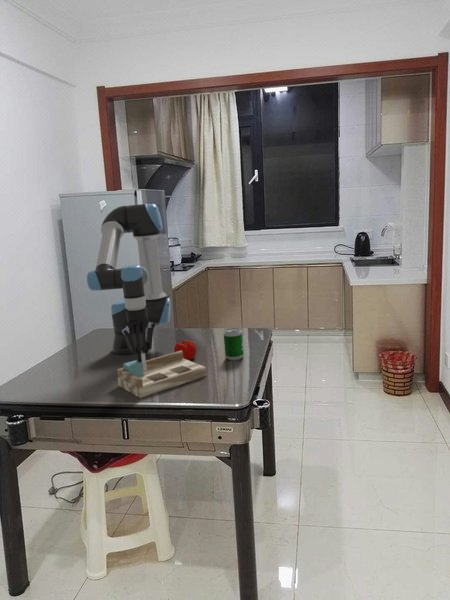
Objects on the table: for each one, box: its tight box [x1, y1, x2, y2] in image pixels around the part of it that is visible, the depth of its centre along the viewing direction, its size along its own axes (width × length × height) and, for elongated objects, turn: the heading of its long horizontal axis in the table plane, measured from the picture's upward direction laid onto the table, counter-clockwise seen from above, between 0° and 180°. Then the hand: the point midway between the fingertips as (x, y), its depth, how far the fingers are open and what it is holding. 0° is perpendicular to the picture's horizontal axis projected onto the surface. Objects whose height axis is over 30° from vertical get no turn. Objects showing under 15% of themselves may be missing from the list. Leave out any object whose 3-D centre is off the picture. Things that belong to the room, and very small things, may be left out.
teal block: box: [122, 359, 143, 377], centre depth 186 cm, size 5×5×5 cm
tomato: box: [173, 339, 197, 361], centre depth 212 cm, size 9×9×8 cm
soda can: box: [223, 327, 244, 361], centre depth 208 cm, size 8×8×12 cm
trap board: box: [116, 351, 207, 399], centre depth 189 cm, size 17×28×6 cm, turn 127°
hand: (143, 369), depth 189 cm, fingers closed
